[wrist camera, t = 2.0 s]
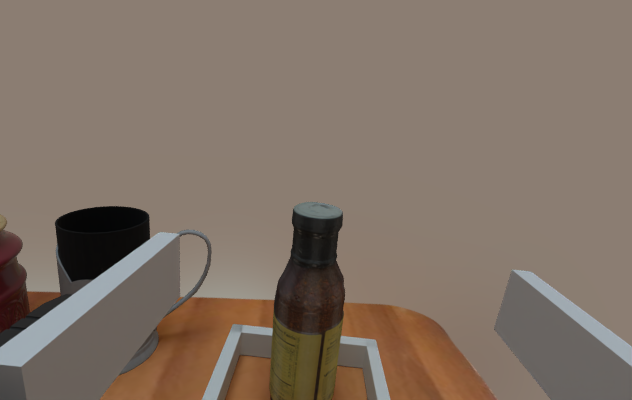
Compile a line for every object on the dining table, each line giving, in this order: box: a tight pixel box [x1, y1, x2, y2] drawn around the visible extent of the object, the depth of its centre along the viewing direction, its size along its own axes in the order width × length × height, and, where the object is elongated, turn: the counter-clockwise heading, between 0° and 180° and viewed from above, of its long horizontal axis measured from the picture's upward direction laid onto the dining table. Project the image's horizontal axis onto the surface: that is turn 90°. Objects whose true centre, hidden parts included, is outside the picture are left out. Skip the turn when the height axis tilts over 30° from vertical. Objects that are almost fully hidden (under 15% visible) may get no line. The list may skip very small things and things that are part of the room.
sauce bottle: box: [270, 202, 345, 400], centre depth 28 cm, size 6×6×20 cm
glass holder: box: [55, 206, 211, 375], centre depth 33 cm, size 9×14×15 cm, turn 106°
